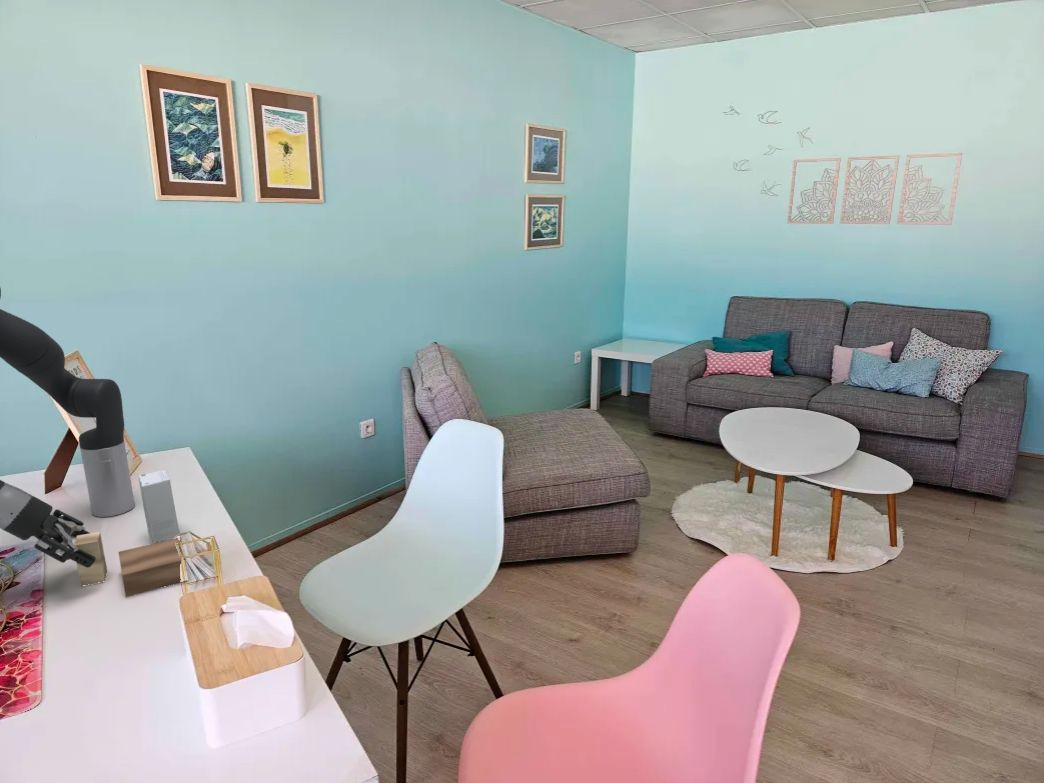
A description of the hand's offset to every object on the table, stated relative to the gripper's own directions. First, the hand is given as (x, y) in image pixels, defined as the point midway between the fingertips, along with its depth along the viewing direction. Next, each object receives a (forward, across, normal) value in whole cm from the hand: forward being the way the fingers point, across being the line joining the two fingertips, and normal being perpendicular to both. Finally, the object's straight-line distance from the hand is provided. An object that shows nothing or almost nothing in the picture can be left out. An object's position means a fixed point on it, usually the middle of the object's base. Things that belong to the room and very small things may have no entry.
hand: (95, 553), depth 138 cm
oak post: (+3, 0, +5) cm, 6 cm away
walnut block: (+11, -4, -3) cm, 12 cm away
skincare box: (+12, +14, -4) cm, 19 cm away
